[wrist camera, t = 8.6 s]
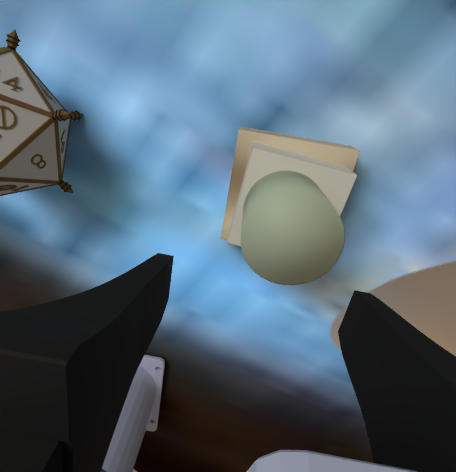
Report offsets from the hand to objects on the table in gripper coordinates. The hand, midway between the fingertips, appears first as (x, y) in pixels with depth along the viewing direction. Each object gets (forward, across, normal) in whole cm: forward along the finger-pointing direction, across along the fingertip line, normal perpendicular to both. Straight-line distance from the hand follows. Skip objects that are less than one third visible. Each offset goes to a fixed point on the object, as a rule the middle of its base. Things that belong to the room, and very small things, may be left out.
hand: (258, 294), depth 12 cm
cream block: (+8, -1, -2) cm, 9 cm away
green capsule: (+6, -1, -2) cm, 6 cm away
